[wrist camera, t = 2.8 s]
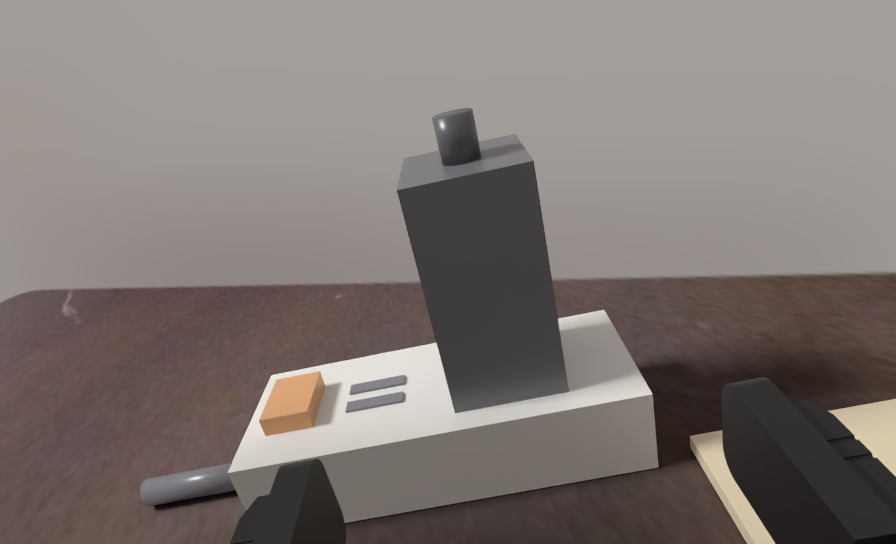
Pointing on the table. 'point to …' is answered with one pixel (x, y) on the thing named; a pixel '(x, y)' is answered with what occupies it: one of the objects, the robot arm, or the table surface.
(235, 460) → the power strip
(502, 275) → the charger
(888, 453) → the cork pad
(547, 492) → the table surface
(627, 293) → the table surface
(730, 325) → the table surface
